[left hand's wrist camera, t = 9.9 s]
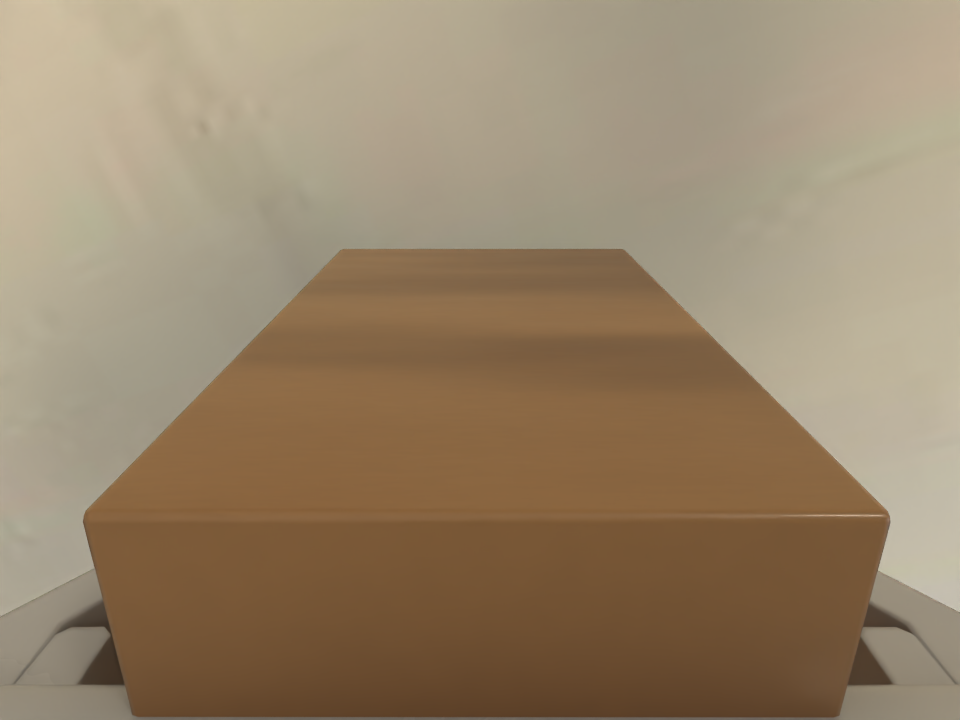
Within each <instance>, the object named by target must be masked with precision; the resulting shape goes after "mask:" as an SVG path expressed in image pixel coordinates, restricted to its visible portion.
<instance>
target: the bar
mask: <svg viewBox="0 0 960 720" xmlns="http://www.w3.org/2000/svg"><path fill="white" fill-rule="evenodd" d="M83 524H84V528H85V532H86V536H87V540H88V543H89V547H90V551H91V555H92V559H93V563H94V567H95V571H96V575H97V579H98V583H99V586H100V590H101V594H102V598H103V602H104V606H105V610H106V614H107V618H108V622H109V626H110V629H111V633H112V637H113V641H114V645H115V649H116V653H117V657H118V661H119V665H120V669H121V672H122V676H123V680H124V684H125V688H126V692H127V696H128V700H129V704H130V708H131V712H132V715H134V716H137V717H791V718H834V717H837V716H839V715H840V711H841V708H842V704H843V700H844V696H845V692H846V689H847V685H848V681H849V677H850V673H851V670H852V666H853V662H854V658H855V654H856V651H857V647H858V643H859V639H860V636H861V632H862V628H863V624H864V620H865V617H866V613H867V609H868V605H869V601H870V598H871V594H872V590H873V586H874V582H875V579H876V575H877V571H878V567H879V564H880V560H881V556H882V552H883V548H884V545H885V541H886V537H887V533H888V529H889V526H890V516H889V514H888V511H887V510H886V509H885V508H884V507H883V506H882V505H881V504H880V503H879V502H878V501H877V500H876V499H875V498H874V497H873V496H872V495H871V494H870V493H869V492H868V491H867V490H866V489H865V488H864V487H863V486H862V485H861V484H860V483H859V482H858V481H857V480H856V479H855V478H854V477H853V476H852V475H851V474H850V473H849V472H848V471H847V470H846V469H845V468H844V467H843V466H842V465H841V464H840V463H839V462H838V461H837V460H836V459H835V458H834V457H832V456H831V455H830V454H829V453H828V452H827V451H826V450H825V449H824V448H823V447H822V446H821V445H820V444H819V443H818V442H817V441H816V440H815V439H814V438H813V437H812V436H811V435H810V434H809V433H808V432H807V431H806V430H805V429H804V428H803V427H802V426H801V425H800V424H799V423H798V422H797V421H796V420H795V419H794V418H793V417H792V416H791V415H790V414H789V413H788V412H787V411H786V410H785V409H784V408H783V407H782V406H781V405H780V404H779V403H778V402H777V401H776V400H775V399H774V398H773V397H772V396H771V395H770V394H769V393H768V392H767V391H766V390H765V389H764V388H763V387H762V386H761V385H760V384H759V383H758V382H757V381H756V380H755V379H754V378H753V377H752V376H751V375H750V374H749V373H748V372H747V371H746V370H745V369H744V368H743V367H742V366H741V365H740V364H739V363H738V362H737V361H736V360H735V359H734V358H733V357H732V356H731V355H730V354H729V353H728V352H727V351H726V350H725V349H724V348H723V347H722V346H721V345H720V344H719V343H718V342H717V341H716V340H715V339H714V338H713V337H712V336H711V335H710V334H709V333H708V332H707V331H706V330H705V329H704V328H703V327H702V326H701V325H700V324H699V323H698V322H697V321H696V320H695V319H694V318H693V317H692V316H691V315H690V314H688V313H687V312H686V311H685V310H684V309H683V308H682V307H681V306H680V305H679V304H678V303H677V302H676V301H675V300H674V299H673V298H672V297H671V296H670V295H669V294H668V293H667V292H666V291H665V290H664V289H663V288H662V287H661V286H660V285H659V284H658V283H657V282H656V281H655V280H654V279H653V278H652V277H651V276H650V275H649V274H648V273H647V272H646V271H645V270H644V269H643V268H642V267H641V266H640V265H639V264H638V263H637V262H636V261H635V260H634V259H633V258H632V257H631V256H630V255H629V254H628V253H627V252H626V251H625V250H623V249H343V250H340V252H339V253H338V254H337V255H336V256H335V257H334V258H333V259H332V260H331V261H330V262H329V263H328V264H327V265H326V266H325V267H324V268H323V269H322V270H321V271H320V272H319V273H318V274H317V275H316V276H315V277H314V278H313V279H312V280H311V281H310V282H309V283H308V284H307V285H306V286H305V287H304V288H303V289H302V290H301V291H300V292H299V293H298V294H297V295H296V296H295V298H294V299H293V300H292V301H291V302H290V303H289V304H288V305H287V306H286V307H285V308H284V309H283V310H282V311H281V312H280V313H279V314H278V315H277V316H276V317H275V318H274V319H273V320H272V321H271V322H270V323H269V324H268V325H267V326H266V327H265V328H264V329H263V330H262V331H261V332H260V333H259V334H258V335H257V336H256V337H255V338H254V339H253V340H252V341H251V342H250V344H249V345H248V346H247V347H246V348H245V349H244V350H243V351H242V352H241V353H240V354H239V355H238V356H237V357H236V358H235V359H234V360H233V361H232V362H231V363H230V364H229V365H228V366H227V367H226V368H225V369H224V370H223V371H222V372H221V373H220V374H219V375H218V376H217V377H216V378H215V379H214V380H213V381H212V382H211V383H210V384H209V385H208V386H207V387H206V388H205V390H204V391H203V392H202V393H201V394H200V395H199V396H198V397H197V398H196V399H195V400H194V401H193V402H192V403H191V404H190V405H189V406H188V407H187V408H186V409H185V410H184V411H183V412H182V413H181V414H180V415H179V416H178V417H177V418H176V419H175V420H174V421H173V422H172V423H171V424H170V425H169V426H168V427H167V428H166V429H165V430H164V431H163V432H162V433H161V434H160V436H159V437H158V438H157V439H156V440H155V441H154V442H153V443H152V444H151V445H150V446H149V447H148V448H147V449H146V450H145V451H144V452H143V453H142V454H141V455H140V456H139V457H138V458H137V459H136V460H135V461H134V462H133V463H132V464H131V465H130V466H129V467H128V468H127V469H126V470H125V471H124V472H123V473H122V474H121V475H120V476H119V477H118V478H117V479H116V480H115V482H114V483H113V484H112V485H111V486H110V487H109V488H108V489H107V490H106V491H105V492H104V493H103V494H102V495H101V496H100V497H99V498H98V499H97V500H96V501H95V502H94V503H93V504H92V505H91V506H90V507H89V508H88V509H87V510H86V512H85V514H84V519H83Z"/></svg>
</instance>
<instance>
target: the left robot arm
mask: <svg viewBox="0 0 960 720" xmlns="http://www.w3.org/2000/svg"><path fill="white" fill-rule="evenodd" d="M0 720H960V612H958V611H956V610H954V609H952V608H950V607H948V606H946V605H944V604H942V603H940V602H938V601H936V600H934V599H932V598H930V597H928V596H926V595H924V594H922V593H920V592H918V591H917V590H915V589H913V588H911V587H909V586H907V585H905V584H903V583H901V582H899V581H897V580H895V579H893V578H891V577H889V576H887V575H885V574H883V573H881V572H879V571H877V575H876V579H875V582H874V586H873V590H872V594H871V598H870V601H869V605H868V609H867V613H866V617H865V620H864V624H863V628H862V632H861V636H860V639H859V643H858V647H857V651H856V654H855V658H854V662H853V666H852V670H851V673H850V677H849V681H848V685H847V689H846V692H845V696H844V700H843V704H842V708H841V711H840V715H839V716H837V717H834V718H791V717H137V716H134V715H132V712H131V708H130V704H129V700H128V696H127V692H126V688H125V684H124V680H123V676H122V672H121V669H120V665H119V661H118V657H117V653H116V649H115V645H114V641H113V637H112V633H111V629H110V626H109V622H108V618H107V614H106V610H105V606H104V602H103V598H102V594H101V590H100V586H99V583H98V579H97V575H96V571H95V568H94V569H92V570H90V571H88V572H86V573H85V574H83V575H81V576H79V577H77V578H75V579H73V580H71V581H69V582H67V583H65V584H63V585H61V586H59V587H57V588H55V589H53V590H51V591H49V592H48V593H46V594H44V595H42V596H40V597H38V598H36V599H34V600H32V601H30V602H28V603H26V604H24V605H22V606H20V607H18V608H16V609H14V610H13V611H11V612H9V613H7V614H5V615H3V616H1V617H0Z"/></svg>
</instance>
